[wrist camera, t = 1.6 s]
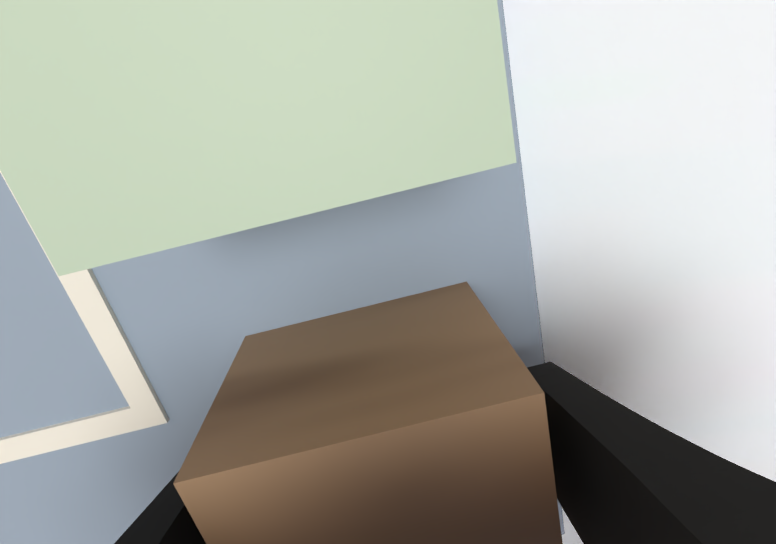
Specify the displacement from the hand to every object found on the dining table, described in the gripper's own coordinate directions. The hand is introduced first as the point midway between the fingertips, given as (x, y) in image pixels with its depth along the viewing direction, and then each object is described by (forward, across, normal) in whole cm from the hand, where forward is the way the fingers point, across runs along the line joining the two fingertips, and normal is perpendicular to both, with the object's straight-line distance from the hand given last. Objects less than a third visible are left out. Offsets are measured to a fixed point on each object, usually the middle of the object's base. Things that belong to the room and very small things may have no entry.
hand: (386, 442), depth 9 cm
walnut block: (+1, 0, 0) cm, 1 cm away
